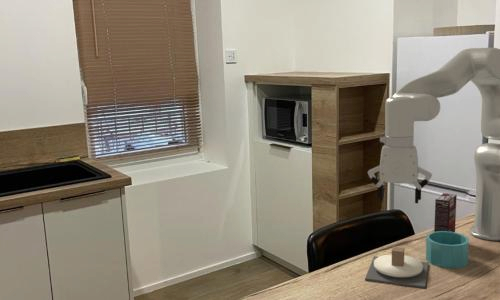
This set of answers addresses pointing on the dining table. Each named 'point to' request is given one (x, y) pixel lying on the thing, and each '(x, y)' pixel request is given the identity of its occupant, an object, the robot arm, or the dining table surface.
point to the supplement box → (445, 213)
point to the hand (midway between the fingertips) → (398, 200)
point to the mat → (405, 281)
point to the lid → (398, 264)
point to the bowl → (447, 249)
